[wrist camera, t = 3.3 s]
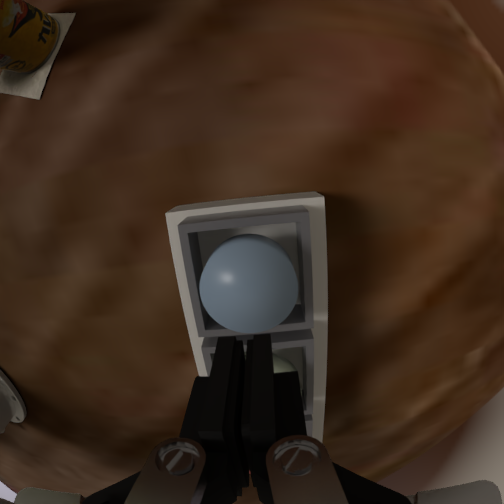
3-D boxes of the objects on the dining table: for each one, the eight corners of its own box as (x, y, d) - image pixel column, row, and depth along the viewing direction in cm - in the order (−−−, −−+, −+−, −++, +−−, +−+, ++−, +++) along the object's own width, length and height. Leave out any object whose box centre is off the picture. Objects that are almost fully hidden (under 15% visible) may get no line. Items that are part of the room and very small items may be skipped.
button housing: (317, 426, 28) (325, 465, 23) (224, 433, 29) (220, 472, 24) (315, 191, 21) (333, 202, 16) (177, 205, 22) (152, 221, 17)
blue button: (296, 312, 19) (300, 328, 17) (212, 318, 19) (208, 335, 17) (291, 229, 17) (295, 238, 15) (199, 238, 17) (192, 248, 15)
